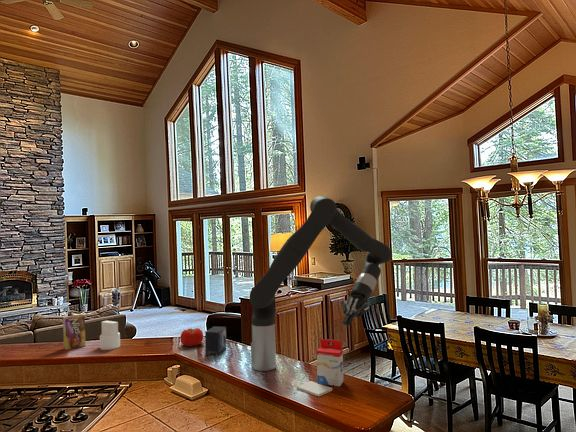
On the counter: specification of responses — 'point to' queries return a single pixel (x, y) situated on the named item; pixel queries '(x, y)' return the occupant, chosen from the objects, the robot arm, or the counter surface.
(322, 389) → the pad
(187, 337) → the tomato
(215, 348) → the small box
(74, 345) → the candy box
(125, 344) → the counter surface
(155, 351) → the counter surface
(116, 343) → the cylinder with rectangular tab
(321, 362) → the ink box
